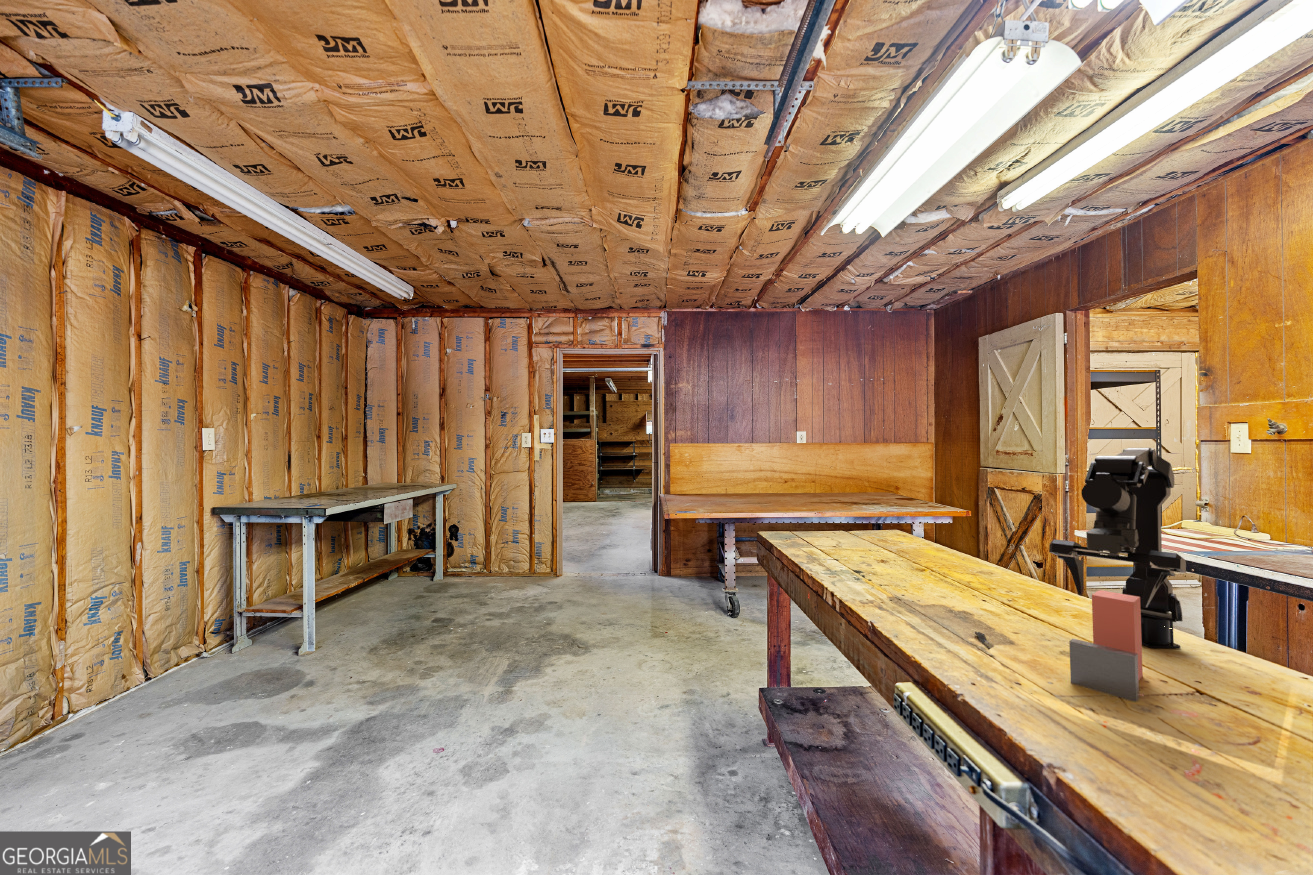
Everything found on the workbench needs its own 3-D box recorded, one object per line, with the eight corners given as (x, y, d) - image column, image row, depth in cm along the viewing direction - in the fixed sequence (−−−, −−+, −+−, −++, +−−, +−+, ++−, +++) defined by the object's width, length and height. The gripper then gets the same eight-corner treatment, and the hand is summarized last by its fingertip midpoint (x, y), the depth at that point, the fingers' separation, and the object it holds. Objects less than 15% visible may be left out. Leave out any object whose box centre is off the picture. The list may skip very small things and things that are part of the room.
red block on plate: (1101, 665, 101) (1099, 589, 101) (1142, 676, 96) (1140, 596, 96) (1094, 672, 98) (1091, 594, 98) (1136, 684, 93) (1133, 602, 94)
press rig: (1090, 667, 103) (1089, 622, 103) (1158, 685, 95) (1157, 637, 95) (1067, 688, 95) (1065, 640, 95) (1140, 710, 87) (1138, 658, 87)
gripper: (1042, 506, 101) (1036, 586, 98) (1175, 516, 86) (1173, 610, 83) (1060, 516, 107) (1055, 591, 105) (1187, 527, 92) (1185, 615, 90)
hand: (1111, 601), depth 95 cm, fingers open, 9 cm apart
